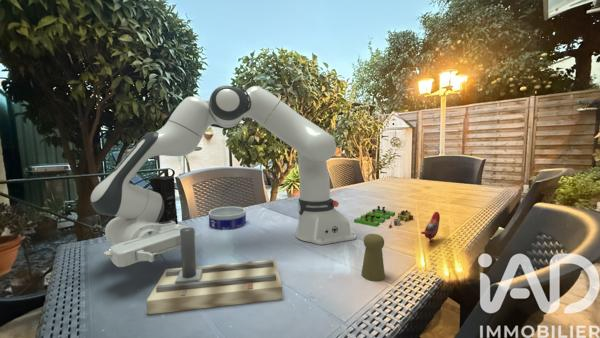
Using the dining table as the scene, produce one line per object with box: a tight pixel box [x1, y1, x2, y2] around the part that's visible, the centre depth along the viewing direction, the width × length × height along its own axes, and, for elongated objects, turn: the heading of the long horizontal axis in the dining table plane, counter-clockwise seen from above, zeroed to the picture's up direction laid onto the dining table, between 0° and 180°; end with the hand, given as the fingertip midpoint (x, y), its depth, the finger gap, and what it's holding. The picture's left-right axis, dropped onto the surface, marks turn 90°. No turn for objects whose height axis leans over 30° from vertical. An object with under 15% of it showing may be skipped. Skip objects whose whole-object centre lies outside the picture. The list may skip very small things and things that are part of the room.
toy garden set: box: [353, 205, 414, 229], centre depth 120 cm, size 23×19×5 cm
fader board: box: [145, 259, 283, 315], centre depth 65 cm, size 28×14×4 cm, turn 101°
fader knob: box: [175, 226, 202, 284], centre depth 63 cm, size 5×5×12 cm
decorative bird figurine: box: [420, 211, 441, 244], centre depth 93 cm, size 3×18×10 cm, turn 137°
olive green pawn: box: [360, 233, 386, 282], centre depth 71 cm, size 6×6×11 cm
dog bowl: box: [208, 206, 247, 231], centre depth 115 cm, size 15×15×6 cm
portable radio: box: [149, 169, 179, 224], centre depth 97 cm, size 8×6×25 cm
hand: (173, 250), depth 66 cm, fingers open, 8 cm apart
